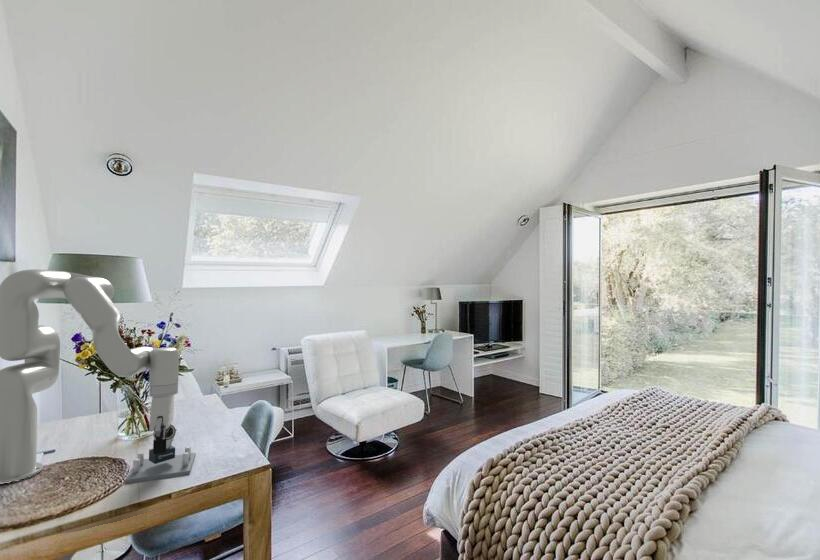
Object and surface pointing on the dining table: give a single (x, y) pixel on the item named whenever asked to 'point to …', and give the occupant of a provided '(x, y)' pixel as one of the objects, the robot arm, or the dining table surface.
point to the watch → (169, 449)
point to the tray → (161, 467)
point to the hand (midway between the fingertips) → (162, 447)
